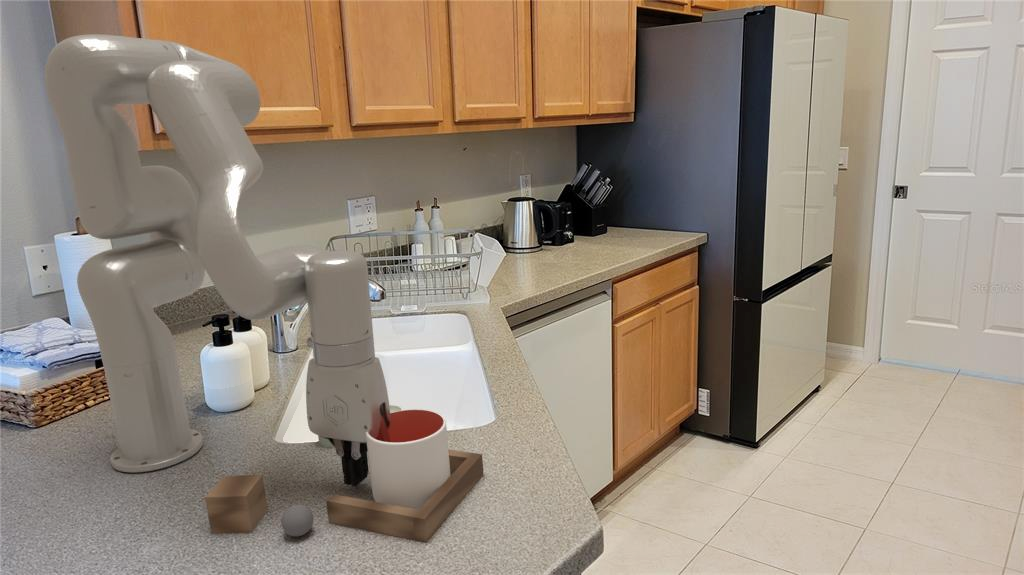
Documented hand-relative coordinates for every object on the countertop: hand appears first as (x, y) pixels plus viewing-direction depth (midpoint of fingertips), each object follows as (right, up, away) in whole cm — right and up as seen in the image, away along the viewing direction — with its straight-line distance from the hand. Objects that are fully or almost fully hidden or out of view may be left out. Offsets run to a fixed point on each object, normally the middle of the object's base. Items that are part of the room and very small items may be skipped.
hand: (356, 480), depth 92 cm
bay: (+7, -1, -2) cm, 7 cm away
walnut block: (-13, -3, -6) cm, 15 cm away
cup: (+8, -2, -3) cm, 8 cm away
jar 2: (+3, +2, +11) cm, 11 cm away
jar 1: (-7, +2, +14) cm, 16 cm away
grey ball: (-5, -4, -9) cm, 11 cm away
